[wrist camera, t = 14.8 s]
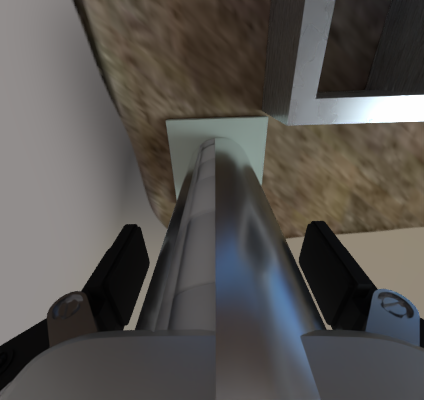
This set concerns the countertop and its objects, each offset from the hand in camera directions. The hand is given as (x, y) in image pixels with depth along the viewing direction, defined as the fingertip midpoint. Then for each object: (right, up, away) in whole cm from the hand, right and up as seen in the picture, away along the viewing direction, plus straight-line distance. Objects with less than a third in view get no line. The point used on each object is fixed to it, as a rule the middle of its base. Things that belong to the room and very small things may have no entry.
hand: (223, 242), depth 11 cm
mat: (0, +6, +11) cm, 13 cm away
